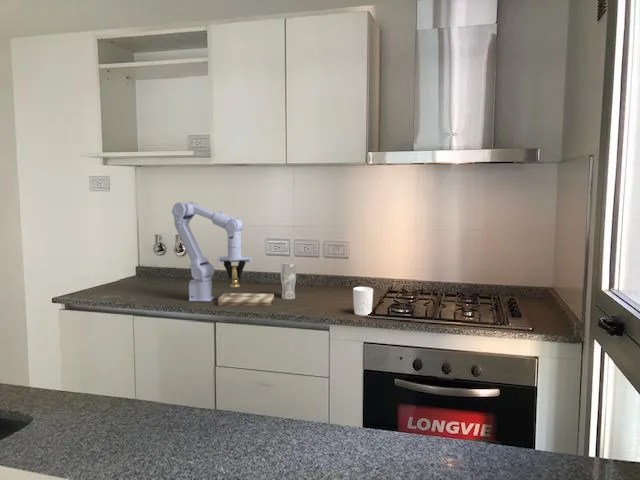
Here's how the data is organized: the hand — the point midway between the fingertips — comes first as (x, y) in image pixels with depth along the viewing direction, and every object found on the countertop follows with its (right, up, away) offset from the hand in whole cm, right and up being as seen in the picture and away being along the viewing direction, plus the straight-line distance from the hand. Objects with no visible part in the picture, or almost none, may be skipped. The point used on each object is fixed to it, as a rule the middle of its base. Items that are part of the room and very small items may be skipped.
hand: (234, 278), depth 224 cm
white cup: (+53, -13, -18) cm, 58 cm away
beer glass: (+22, -10, +11) cm, 27 cm away
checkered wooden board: (+5, -10, +1) cm, 12 cm away
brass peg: (0, -4, 0) cm, 4 cm away
